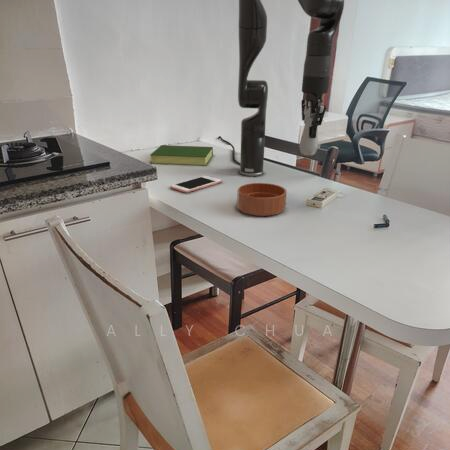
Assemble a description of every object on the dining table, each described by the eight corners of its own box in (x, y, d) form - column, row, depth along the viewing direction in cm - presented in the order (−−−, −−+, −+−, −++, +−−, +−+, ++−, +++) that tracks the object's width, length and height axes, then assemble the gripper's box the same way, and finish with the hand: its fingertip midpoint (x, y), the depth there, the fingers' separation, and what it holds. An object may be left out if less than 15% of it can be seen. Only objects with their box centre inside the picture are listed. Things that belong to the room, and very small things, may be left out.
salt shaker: (305, 156, 125) (311, 110, 118) (294, 152, 129) (298, 107, 122) (321, 154, 127) (327, 108, 120) (309, 150, 131) (314, 106, 124)
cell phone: (221, 182, 155) (221, 179, 154) (186, 193, 144) (186, 190, 143) (205, 177, 160) (205, 175, 159) (170, 188, 149) (169, 185, 148)
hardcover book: (212, 155, 191) (212, 146, 189) (205, 165, 175) (205, 156, 173) (160, 153, 194) (159, 145, 192) (149, 163, 178) (148, 154, 176)
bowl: (232, 202, 136) (233, 184, 133) (276, 199, 139) (278, 181, 136) (243, 219, 124) (243, 199, 121) (291, 215, 126) (293, 196, 123)
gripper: (295, 72, 121) (290, 134, 131) (313, 76, 110) (306, 144, 119) (319, 71, 122) (312, 133, 132) (339, 76, 111) (330, 142, 120)
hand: (309, 138), depth 125 cm, fingers closed on salt shaker, 3 cm apart
